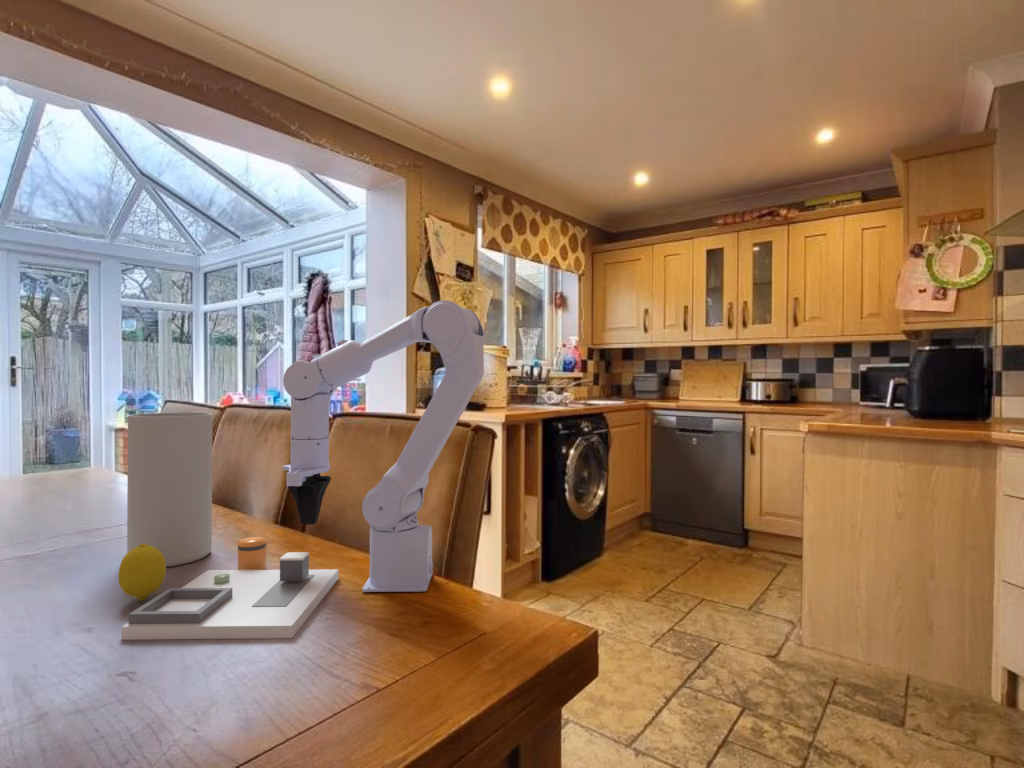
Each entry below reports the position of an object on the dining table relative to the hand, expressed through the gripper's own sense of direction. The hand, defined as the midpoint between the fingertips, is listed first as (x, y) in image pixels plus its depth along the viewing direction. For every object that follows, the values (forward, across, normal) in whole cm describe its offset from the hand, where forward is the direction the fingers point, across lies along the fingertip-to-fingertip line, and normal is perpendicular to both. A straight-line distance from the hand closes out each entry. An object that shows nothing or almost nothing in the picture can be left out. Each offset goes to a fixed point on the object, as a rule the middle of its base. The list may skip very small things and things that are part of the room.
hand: (309, 523), depth 88 cm
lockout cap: (+8, -2, -10) cm, 13 cm away
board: (+8, +12, -5) cm, 15 cm away
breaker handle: (+6, +7, 0) cm, 9 cm away
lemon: (+9, +10, -20) cm, 24 cm away
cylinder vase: (+9, -10, -27) cm, 30 cm away
